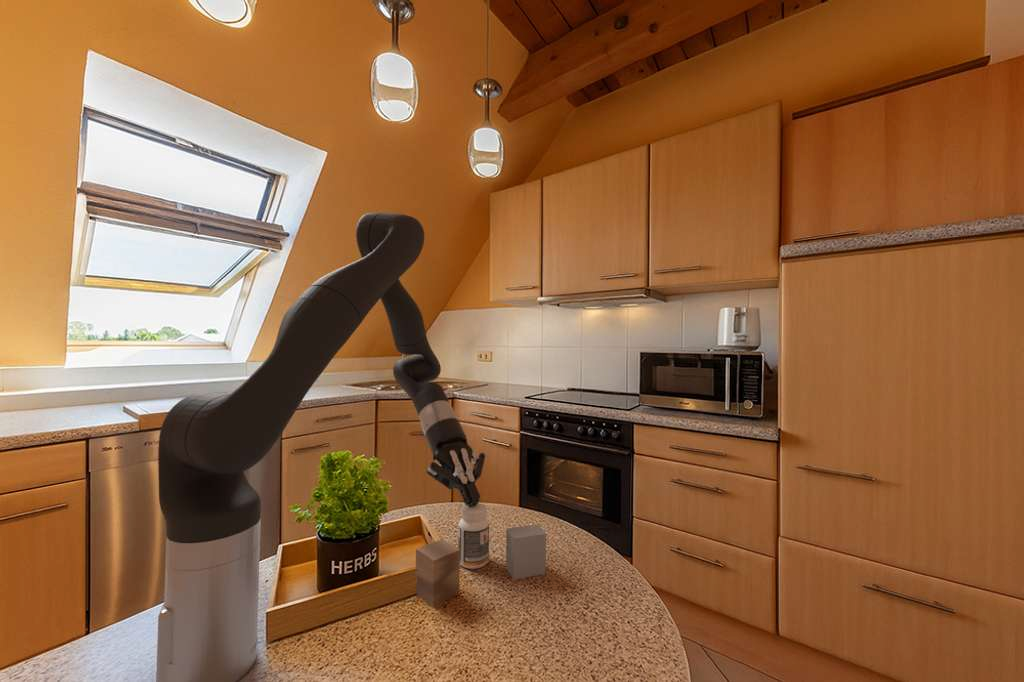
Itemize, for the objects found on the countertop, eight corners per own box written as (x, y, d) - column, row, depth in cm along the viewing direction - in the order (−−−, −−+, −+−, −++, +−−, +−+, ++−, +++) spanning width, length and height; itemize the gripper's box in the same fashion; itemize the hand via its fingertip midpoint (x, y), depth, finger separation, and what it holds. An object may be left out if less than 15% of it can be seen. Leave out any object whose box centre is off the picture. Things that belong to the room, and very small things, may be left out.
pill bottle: (494, 559, 75) (495, 506, 75) (476, 573, 70) (477, 516, 71) (470, 551, 78) (471, 499, 78) (451, 564, 73) (452, 509, 74)
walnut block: (432, 607, 61) (433, 560, 61) (415, 592, 65) (416, 548, 65) (459, 593, 65) (459, 549, 65) (441, 580, 68) (442, 538, 68)
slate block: (513, 579, 69) (514, 538, 69) (505, 567, 73) (506, 528, 73) (545, 573, 71) (546, 533, 71) (536, 562, 75) (537, 524, 75)
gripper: (418, 420, 78) (451, 502, 68) (475, 413, 86) (511, 486, 77) (406, 442, 82) (435, 523, 72) (461, 434, 90) (494, 505, 81)
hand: (474, 504), depth 75 cm, fingers closed
